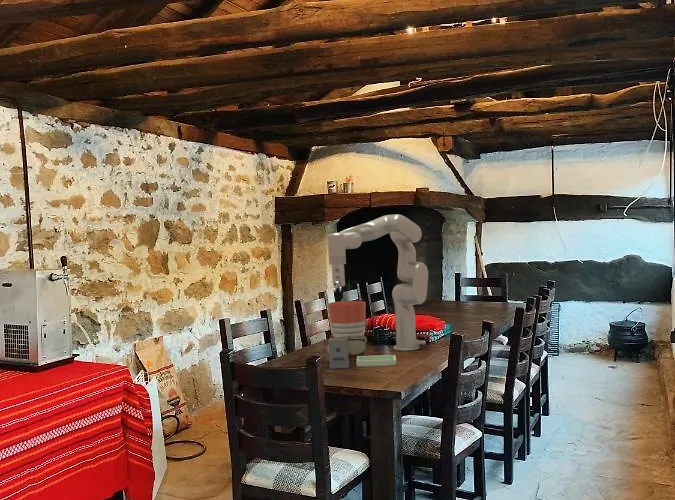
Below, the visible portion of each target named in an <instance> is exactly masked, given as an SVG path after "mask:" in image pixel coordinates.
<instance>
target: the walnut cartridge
mask: <svg viewBox="0 0 675 500" xmlns="http://www.w3.org/2000/svg"><path fill="white" fill-rule="evenodd" d="M325 357H326V359H325V361H327V362H326V363H329V353H328V344H327V345H325Z"/></svg>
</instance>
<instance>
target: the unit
mask: <svg viewBox="0 0 675 500" xmlns="http://www.w3.org/2000/svg"><path fill="white" fill-rule="evenodd" d="M327 345H328V353H329V362H328V363H329V369H330V370H331V369H335V370H336V369H349V366H350V359H349V352H348V337H334V336H333V337H329V339H328V343H327Z"/></svg>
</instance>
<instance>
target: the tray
mask: <svg viewBox="0 0 675 500" xmlns="http://www.w3.org/2000/svg"><path fill="white" fill-rule="evenodd" d="M355 364H356V367H357V368H364V367H365V368H368V367H369V368H370V367H395V366H397V356H396V354H382V355H381V354H380V355H379V354H378V355H365V356H357V360H356V363H355Z"/></svg>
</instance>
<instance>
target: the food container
mask: <svg viewBox="0 0 675 500" xmlns="http://www.w3.org/2000/svg"><path fill="white" fill-rule="evenodd" d="M345 337H348V352H349V360H354V359H355V360H356V361H357V356H366V347H367V346H366V345H367V344H366V343H368V339H367V337H366V336H365V335H363V336H345Z"/></svg>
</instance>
